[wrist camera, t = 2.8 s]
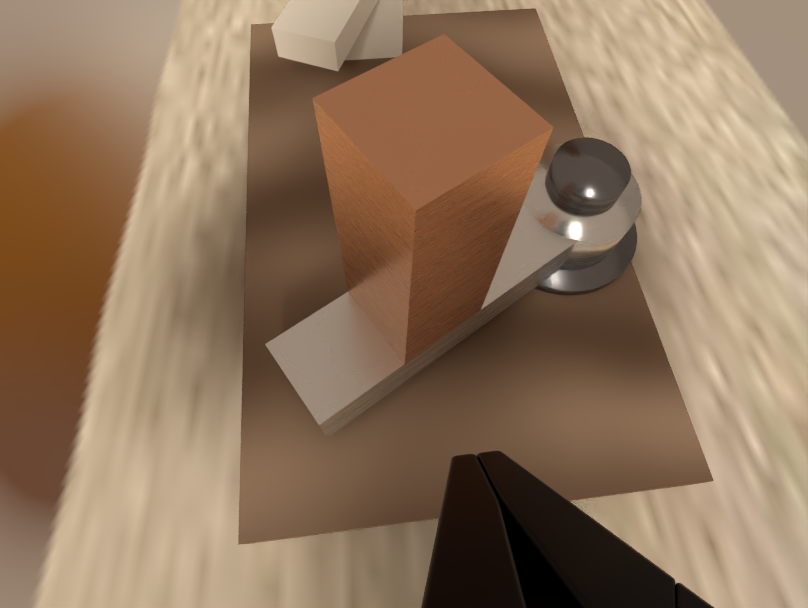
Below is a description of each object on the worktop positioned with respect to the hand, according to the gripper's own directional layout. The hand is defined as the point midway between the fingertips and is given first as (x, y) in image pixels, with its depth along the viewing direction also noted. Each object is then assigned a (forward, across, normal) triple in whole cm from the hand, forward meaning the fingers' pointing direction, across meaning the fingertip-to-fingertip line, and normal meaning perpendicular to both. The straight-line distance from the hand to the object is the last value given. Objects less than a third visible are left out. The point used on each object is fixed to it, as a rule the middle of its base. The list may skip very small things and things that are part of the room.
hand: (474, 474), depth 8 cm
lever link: (+10, -2, 0) cm, 10 cm away
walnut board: (+14, -1, -2) cm, 14 cm away
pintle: (+12, -6, -2) cm, 14 cm away
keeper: (+19, +1, -8) cm, 21 cm away
